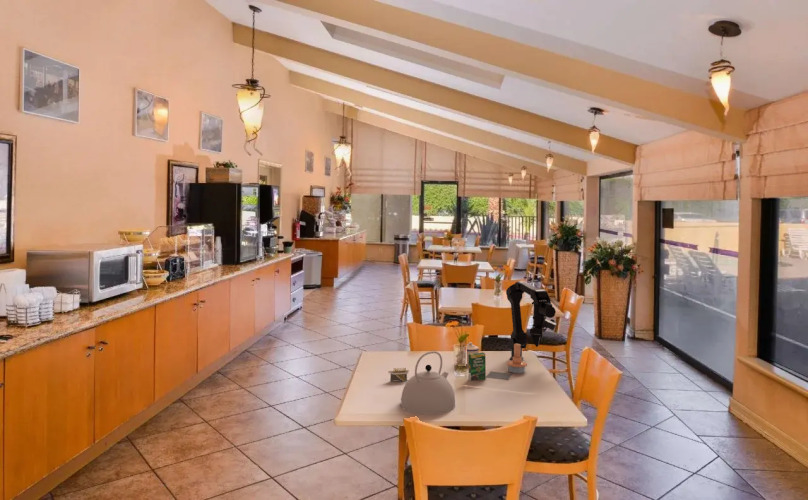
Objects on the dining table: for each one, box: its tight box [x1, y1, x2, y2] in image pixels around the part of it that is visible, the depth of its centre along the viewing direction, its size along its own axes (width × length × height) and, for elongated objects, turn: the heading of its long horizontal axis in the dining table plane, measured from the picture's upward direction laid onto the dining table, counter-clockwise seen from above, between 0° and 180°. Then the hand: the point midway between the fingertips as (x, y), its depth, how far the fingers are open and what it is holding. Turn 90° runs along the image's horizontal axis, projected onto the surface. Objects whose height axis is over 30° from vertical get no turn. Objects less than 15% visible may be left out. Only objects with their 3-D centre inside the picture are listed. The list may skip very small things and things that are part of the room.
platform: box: [388, 367, 410, 382], centre depth 272 cm, size 12×18×7 cm, turn 102°
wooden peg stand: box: [506, 344, 528, 368], centre depth 288 cm, size 10×10×10 cm
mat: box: [486, 371, 513, 381], centre depth 281 cm, size 11×11×1 cm
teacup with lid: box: [466, 341, 480, 366], centre depth 303 cm, size 12×9×12 cm
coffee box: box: [468, 352, 487, 381], centre depth 274 cm, size 8×3×13 cm, turn 107°
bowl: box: [508, 366, 526, 374], centre depth 288 cm, size 8×8×4 cm
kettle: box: [400, 350, 456, 416], centre depth 240 cm, size 25×23×22 cm
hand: (538, 344), depth 292 cm, fingers open, 9 cm apart
